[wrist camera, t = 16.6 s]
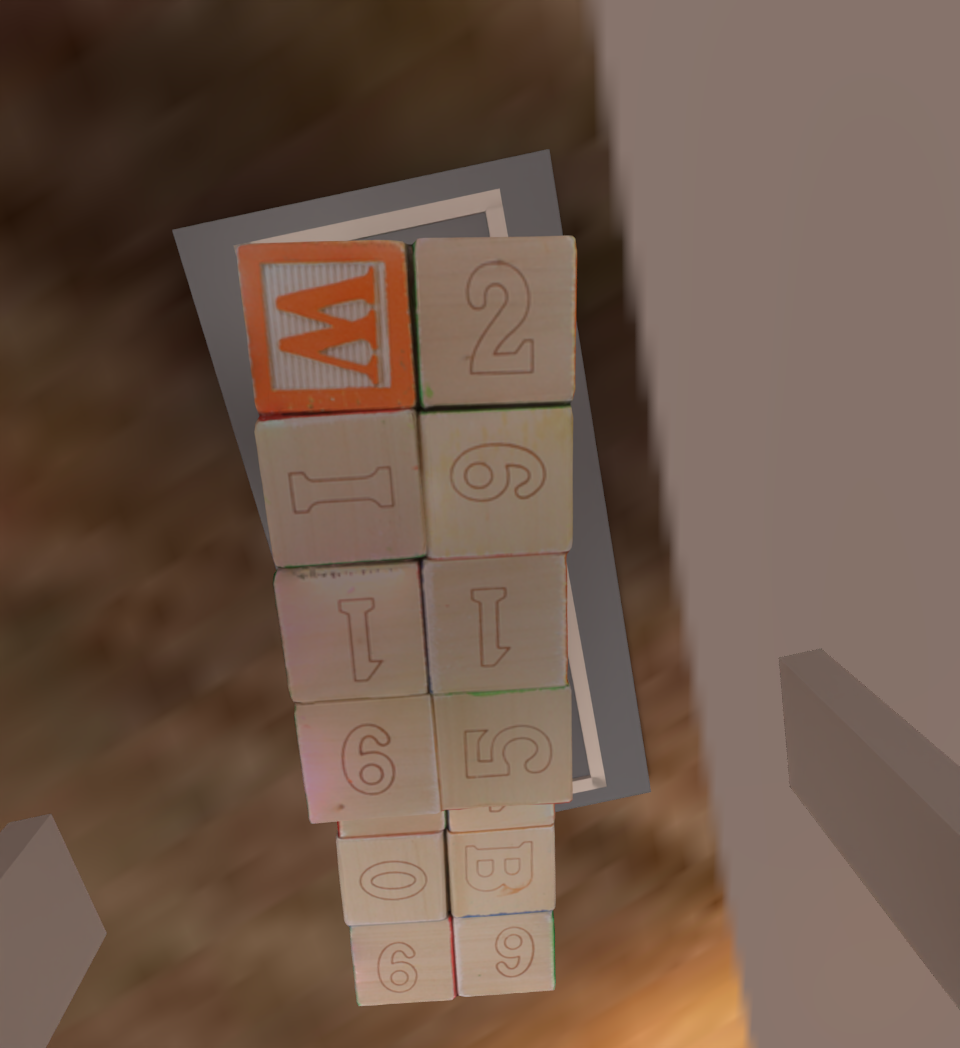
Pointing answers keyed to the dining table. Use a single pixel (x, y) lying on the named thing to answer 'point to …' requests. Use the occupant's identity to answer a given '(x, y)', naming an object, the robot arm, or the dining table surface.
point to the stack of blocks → (425, 585)
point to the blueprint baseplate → (592, 587)
